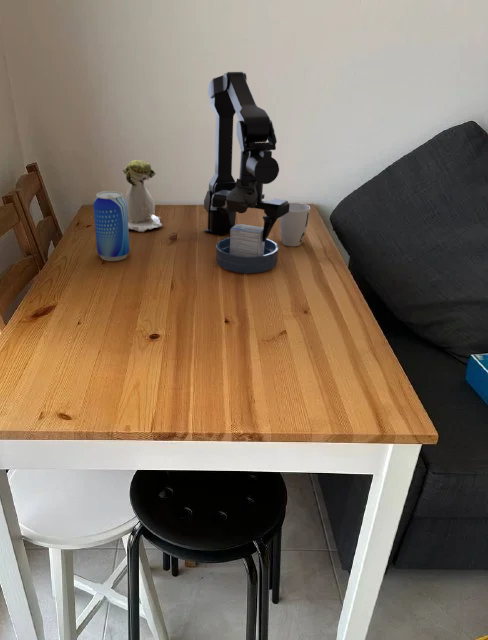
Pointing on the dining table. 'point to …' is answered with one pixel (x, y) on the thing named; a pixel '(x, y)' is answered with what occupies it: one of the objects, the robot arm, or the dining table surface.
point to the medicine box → (246, 240)
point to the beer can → (111, 225)
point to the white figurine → (140, 197)
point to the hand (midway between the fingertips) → (247, 237)
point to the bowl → (246, 258)
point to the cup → (294, 224)
